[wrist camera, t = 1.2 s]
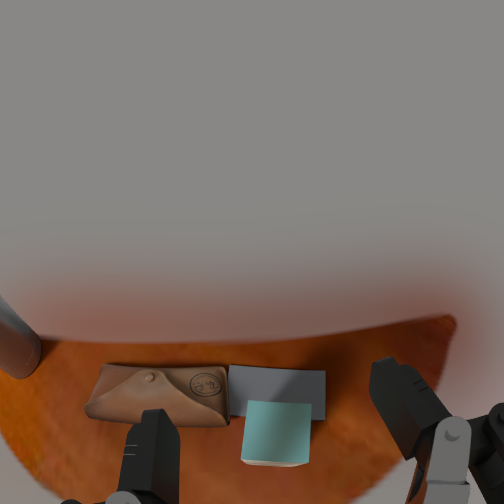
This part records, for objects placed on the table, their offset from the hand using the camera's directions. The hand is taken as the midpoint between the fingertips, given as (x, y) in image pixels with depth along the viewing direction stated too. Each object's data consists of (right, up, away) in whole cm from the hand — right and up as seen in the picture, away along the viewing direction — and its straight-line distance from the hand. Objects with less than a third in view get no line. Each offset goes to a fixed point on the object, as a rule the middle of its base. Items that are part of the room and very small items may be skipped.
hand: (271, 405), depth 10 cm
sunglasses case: (-12, -12, +22) cm, 28 cm away
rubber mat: (+2, -11, +23) cm, 25 cm away
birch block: (+1, -16, +18) cm, 24 cm away
